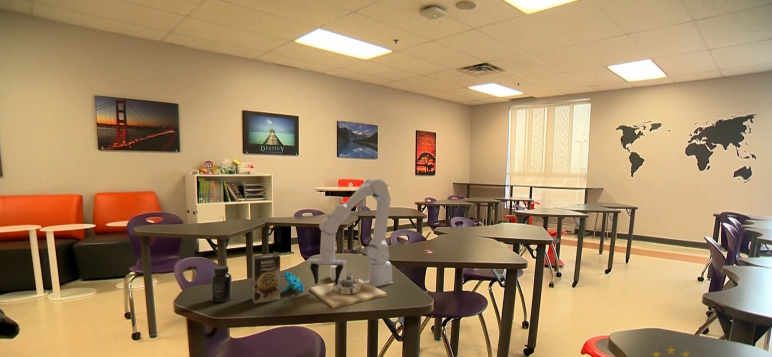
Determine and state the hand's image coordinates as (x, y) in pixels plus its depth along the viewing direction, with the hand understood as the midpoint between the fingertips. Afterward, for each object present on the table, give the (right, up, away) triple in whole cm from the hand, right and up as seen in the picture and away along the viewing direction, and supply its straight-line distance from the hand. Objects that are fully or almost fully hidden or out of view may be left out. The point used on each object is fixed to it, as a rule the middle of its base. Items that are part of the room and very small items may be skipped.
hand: (326, 283), depth 134 cm
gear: (-13, -4, +2) cm, 14 cm away
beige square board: (+8, -3, -1) cm, 9 cm away
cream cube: (+2, -3, +18) cm, 19 cm away
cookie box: (-21, -4, -8) cm, 22 cm away
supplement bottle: (-37, -4, -9) cm, 38 cm away
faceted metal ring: (+8, -2, +2) cm, 9 cm away
